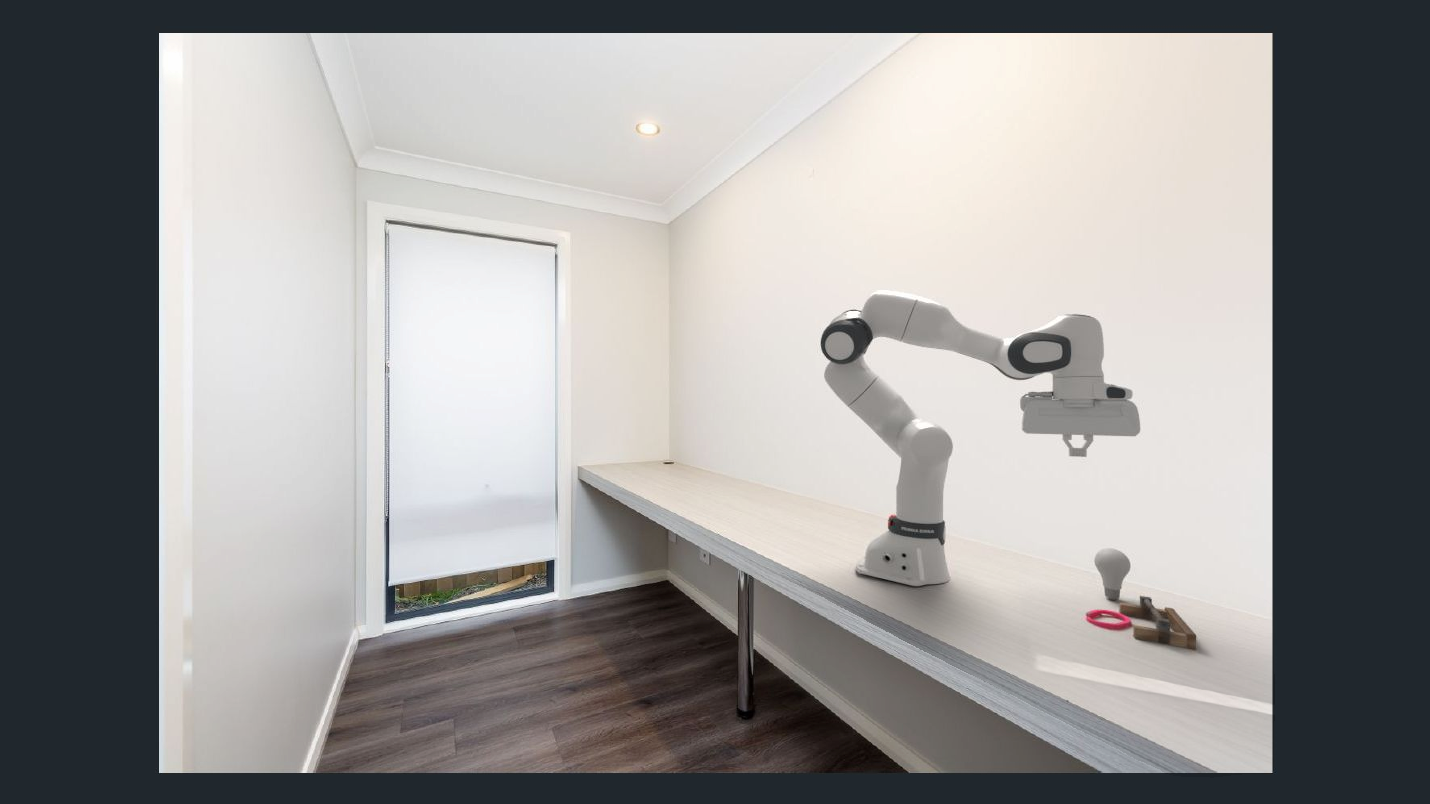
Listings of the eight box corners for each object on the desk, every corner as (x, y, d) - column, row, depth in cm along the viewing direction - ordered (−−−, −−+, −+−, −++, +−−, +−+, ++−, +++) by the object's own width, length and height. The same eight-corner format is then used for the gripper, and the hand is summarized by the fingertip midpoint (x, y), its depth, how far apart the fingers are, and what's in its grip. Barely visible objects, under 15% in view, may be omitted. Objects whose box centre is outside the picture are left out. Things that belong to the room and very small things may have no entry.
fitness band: (1104, 614, 101) (1104, 606, 101) (1138, 626, 96) (1138, 618, 96) (1079, 621, 98) (1079, 613, 98) (1113, 633, 93) (1113, 625, 93)
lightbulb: (1137, 606, 104) (1137, 553, 104) (1104, 604, 105) (1104, 552, 105) (1119, 595, 110) (1119, 545, 110) (1088, 593, 111) (1088, 544, 111)
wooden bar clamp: (1134, 638, 90) (1135, 616, 90) (1119, 612, 101) (1119, 592, 101) (1196, 649, 86) (1196, 626, 86) (1172, 621, 97) (1172, 600, 97)
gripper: (1020, 391, 108) (1020, 455, 108) (1142, 390, 98) (1142, 460, 98) (1019, 392, 114) (1019, 452, 114) (1134, 391, 104) (1134, 457, 104)
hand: (1077, 456), depth 106 cm, fingers closed
